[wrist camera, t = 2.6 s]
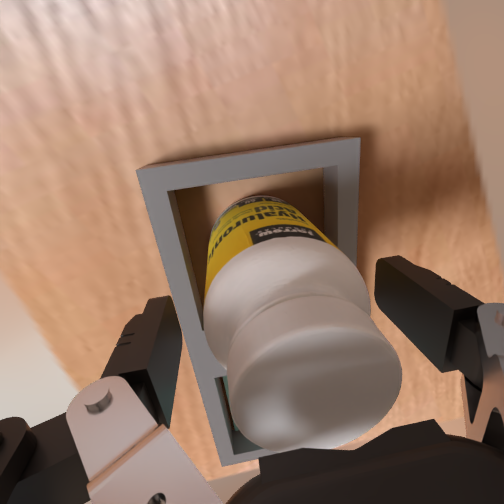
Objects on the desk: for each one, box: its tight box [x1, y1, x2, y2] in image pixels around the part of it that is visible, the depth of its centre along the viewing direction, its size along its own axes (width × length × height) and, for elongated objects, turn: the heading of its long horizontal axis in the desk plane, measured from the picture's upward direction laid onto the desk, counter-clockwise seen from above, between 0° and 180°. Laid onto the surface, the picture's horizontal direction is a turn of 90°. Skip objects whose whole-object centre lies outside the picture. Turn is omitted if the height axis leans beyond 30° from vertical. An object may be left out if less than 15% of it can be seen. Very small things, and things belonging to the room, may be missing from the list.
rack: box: [136, 137, 361, 467], centre depth 16 cm, size 20×10×2 cm, turn 7°
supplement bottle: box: [203, 196, 402, 453], centre depth 11 cm, size 5×5×10 cm
